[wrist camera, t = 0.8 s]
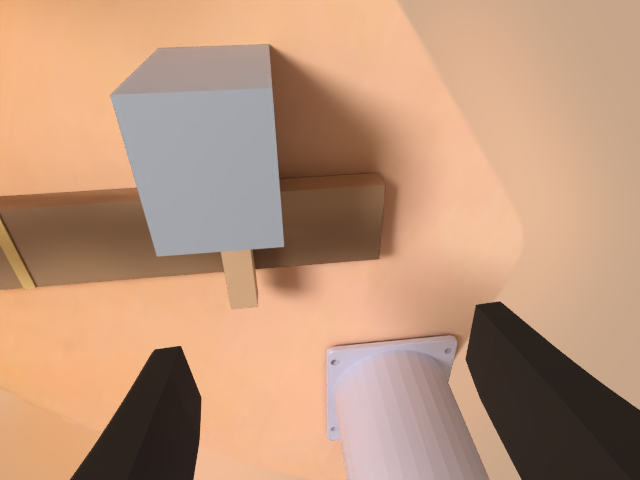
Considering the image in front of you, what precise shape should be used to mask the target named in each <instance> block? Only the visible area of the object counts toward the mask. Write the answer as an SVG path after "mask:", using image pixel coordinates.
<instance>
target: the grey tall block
mask: <svg viewBox="0 0 640 480" xmlns="http://www.w3.org/2000/svg"><path fill="white" fill-rule="evenodd" d="M110 96H111V100H112V103H113V107H114V110H115V113H116V117H117V120H118V124H119V127H120V131H121V134H122V138H123V141H124V144H125V148H126V151H127V155H128V158H129V162H130V165H131V169H132V172H133V176H134V179H135V182H136V186H137V189H138V193H139V196H140V200H141V203H142V207H143V210H144V213H145V217H146V220H147V224H148V227H149V231H150V234H151V238H152V241H153V245H154V248H155V251H156V255H157V257H159V256H172V255H185V254H198V253H211V252H221V256H222V261H223V267H224V272H225V278H226V283H227V289H228V294H229V300H230V305H231V309H240V308H252V307H258V288H257V280H256V272H255V265H254V257H253V249H264V248H277V247H284V236H283V223H282V210H281V196H280V183H279V170H278V156H277V143H276V130H275V117H274V104H273V90H272V77H271V64H270V51H269V44H259V45H231V46H203V47H176V48H158V49H157V50H156V51H155V52H154V53H153V54H152V55H151V56H150V57H149V58H148V59H147V60H146V61H145V62H144V63H143V64H141V65H140V66H139V67H138V68H137V69H136V70H135V71H134V72H133V73H132V74H131V75H130V76H129V77H128V78H127V79H126V80H125V81H124V82H123V83H122V84H121V85H120V86H119V87H118V88H117V89H116V90H115V91H114V92H113V93H112V94H111V95H110Z"/></svg>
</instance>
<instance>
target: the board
mask: <svg viewBox="0 0 640 480" xmlns="http://www.w3.org/2000/svg"><path fill="white" fill-rule="evenodd" d="M279 183H280V196H281V210H282V223H283V236H284V247H277V248H264V249H253V257H254V265H255V269H262V268H275V267H287V266H300V265H312V264H324V263H337V262H349V261H361V260H374V259H379V255H380V242H381V230H382V218H383V206H384V194H385V183H384V181H383V180H382V178H381V176H380V174H379V173H365V174H349V175H334V176H318V177H302V178H286V179H279ZM213 272H224V267H223V261H222V256H221V252H211V253H198V254H185V255H172V256H159V257H157V255H156V251H155V248H154V245H153V241H152V238H151V234H150V231H149V227H148V224H147V220H146V217H145V213H144V210H143V207H142V203H141V200H140V196H139V193H138V189H137V188H128V189H112V190H96V191H80V192H64V193H49V194H33V195H17V196H1V197H0V290H2V289H15V288H24V289H28V288H36V287H39V286H52V285H64V284H77V283H89V282H101V281H114V280H126V279H138V278H151V277H163V276H176V275H188V274H200V273H213Z"/></svg>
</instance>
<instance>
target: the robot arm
mask: <svg viewBox="0 0 640 480" xmlns="http://www.w3.org/2000/svg"><path fill="white" fill-rule="evenodd" d="M457 345H458V342H457V340H456V338H455V337H454V336H452V335H447V336H436V337H426V338H416V339H406V340H395V341H385V342H375V343H365V344H354V345H344V346H334V347H331V348H329V349H328V350H327V352H326V394H327V438H328V439H329V440H331V441H336V440H341V445H342V451H343V458H344V464H345V470H346V476H347V480H489V477H488V475H487V473H486V470H485V468H484V466H483V463H482V461H481V459H480V456H479V454H478V452H477V449H476V447H475V445H474V443H473V440H472V438H471V435H470V433H469V431H468V428H467V426H466V424H465V421H464V419H463V417H462V414H461V412H460V410H459V407H458V405H457V403H456V400H455V398H454V396H453V393H452V391H451V388H450V386H449V384H448V381H449V377H450V372H451V368H452V365H453V361H454V357H455V353H456V349H457ZM335 359H336V360H335ZM466 362H467V364H468V367H469V370H470V373H471V376H472V378H473V381H474V384H475V386H476V389H477V392H478V394H479V397H480V399H481V401H482V403H483V405H484V407H485V409H486V411H487V413H488V415H489V417H490V419H491V421H492V423H493V425H494V427H495V429H496V431H497V433H498V435H499V437H500V439H501V440H502V442H503V444H504V446H505V448H506V450H507V452H508V454H509V456H510V458H511V460H512V462H513V464H514V466H515V468H516V470H517V471H518V474H519V475H520V477H521V479H522V480H640V410H639V409H637V408H636V407H634V406H633V405H631V404H630V403H629V402H627V401H626V400H625V399H623V398H622V397H620V396H619V395H617V394H616V393H614V392H613V391H612V390H610V389H609V388H608V387H606V386H605V385H604V384H602V383H601V382H600V381H598V380H597V379H596V378H594V377H593V376H592V375H590V374H589V373H588V372H586V371H585V370H584V369H582V368H581V367H580V366H579V365H577V364H576V363H575V362H573V361H572V360H571V359H570V358H568V357H567V356H566V355H565V354H563V353H562V352H561V351H560V350H558V349H557V348H556V347H555V346H553V345H552V344H551V343H549V342H548V341H547V340H546V339H545V338H543V337H542V336H541V335H540V334H539V333H538V332H536V331H535V330H534V329H533V328H531V327H530V326H529V325H528V324H527V323H525V322H524V321H523V320H522V319H521V318H519V317H518V316H517V315H516V314H514V313H513V312H512V311H511V310H510V309H509V308H507V307H506V306H505V305H504V304H503V303H501V302H493V303H486V304H479V305H476V308H475V313H474V318H473V323H472V328H471V334H470V339H469V344H468V350H467V355H466ZM200 421H201V396H200V393H199V391H198V388H197V385H196V383H195V380H194V378H193V375H192V373H191V370H190V368H189V365H188V363H187V360H186V358H185V355H184V353H183V350H182V348H181V346H177V347H170V348H163V349H156V350H154V351H153V353H152V354H151V355H150V357H149V359H148V360H147V362H146V364H145V366H144V367H143V369H142V371H141V372H140V374H139V376H138V377H137V379H136V381H135V382H134V384H133V386H132V387H131V389H130V391H129V392H128V394H127V395H126V397H125V399H124V400H123V402H122V403H121V405H120V407H119V408H118V410H117V411H116V413H115V414H114V416H113V418H112V419H111V421H110V422H109V424H108V425H107V427H106V428H105V430H104V431H103V433H102V434H101V436H100V438H99V439H98V441H97V442H96V444H95V445H94V446H93V448H92V449H91V451H90V452H89V454H88V455H87V456H86V458H85V459H84V461H83V462H82V464H81V465H80V466H79V468H78V469H77V471H76V472H75V473H74V475H73V476H72V478H71V479H70V480H193V478H194V472H195V465H196V459H197V453H198V447H199V439H200Z"/></svg>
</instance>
